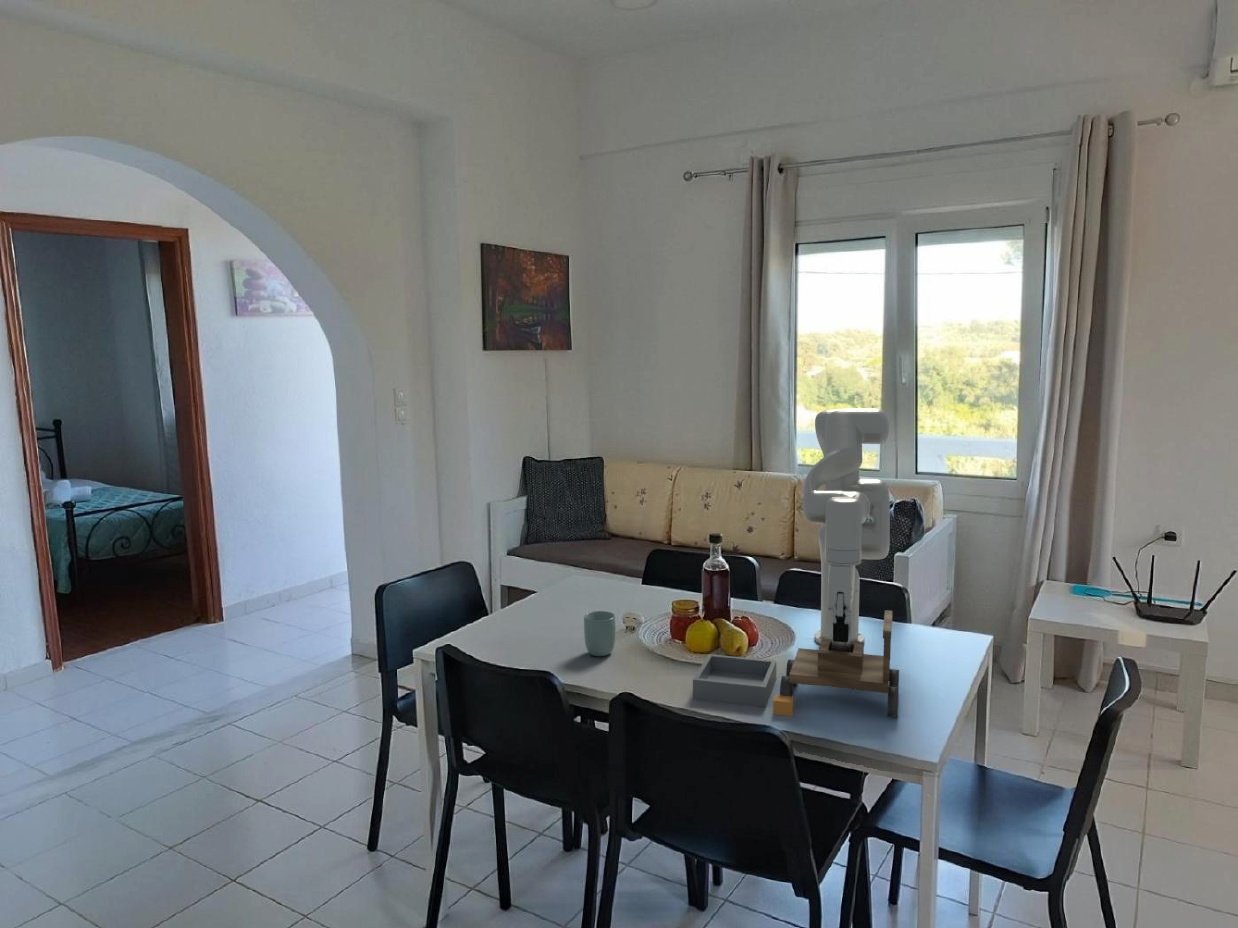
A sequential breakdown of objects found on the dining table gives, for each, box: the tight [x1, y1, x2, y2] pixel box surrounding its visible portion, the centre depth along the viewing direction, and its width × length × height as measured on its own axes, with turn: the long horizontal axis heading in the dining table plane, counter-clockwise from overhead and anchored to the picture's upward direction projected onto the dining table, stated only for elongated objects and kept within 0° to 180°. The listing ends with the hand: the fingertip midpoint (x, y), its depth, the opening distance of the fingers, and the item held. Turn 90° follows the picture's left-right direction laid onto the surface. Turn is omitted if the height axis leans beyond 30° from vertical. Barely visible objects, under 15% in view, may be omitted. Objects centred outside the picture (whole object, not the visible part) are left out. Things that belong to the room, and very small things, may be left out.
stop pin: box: [832, 610, 851, 652], centre depth 189 cm, size 4×4×12 cm
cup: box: [583, 610, 617, 657], centre depth 221 cm, size 8×8×10 cm
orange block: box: [772, 694, 795, 717], centre depth 186 cm, size 3×4×3 cm
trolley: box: [779, 610, 900, 718], centre depth 190 cm, size 16×24×19 cm, turn 72°
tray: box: [692, 653, 777, 708], centre depth 198 cm, size 16×16×4 cm
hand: (841, 636), depth 189 cm, fingers closed on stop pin, 4 cm apart
